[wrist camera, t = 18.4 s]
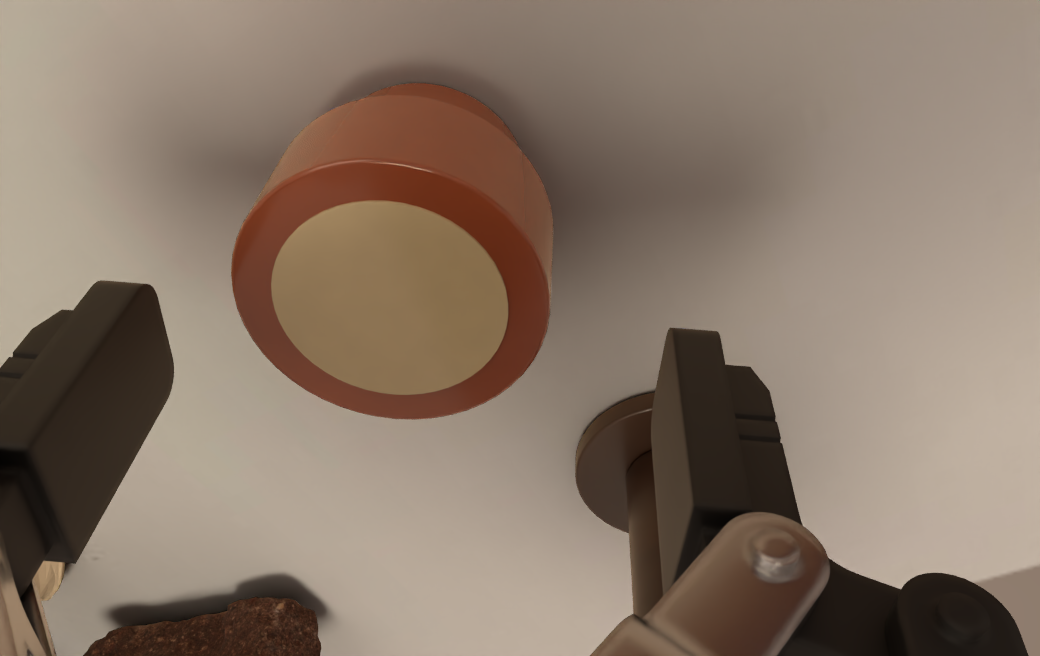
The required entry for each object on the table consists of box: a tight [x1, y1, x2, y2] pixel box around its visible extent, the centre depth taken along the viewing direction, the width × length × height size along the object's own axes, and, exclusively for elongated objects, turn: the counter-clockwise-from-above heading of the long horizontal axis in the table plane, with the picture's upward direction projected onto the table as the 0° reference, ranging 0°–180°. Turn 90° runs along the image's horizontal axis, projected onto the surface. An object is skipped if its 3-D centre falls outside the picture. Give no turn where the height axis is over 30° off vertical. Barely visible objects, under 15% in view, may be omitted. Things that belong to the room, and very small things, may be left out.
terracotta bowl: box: [231, 83, 553, 419], centre depth 17 cm, size 5×5×4 cm
